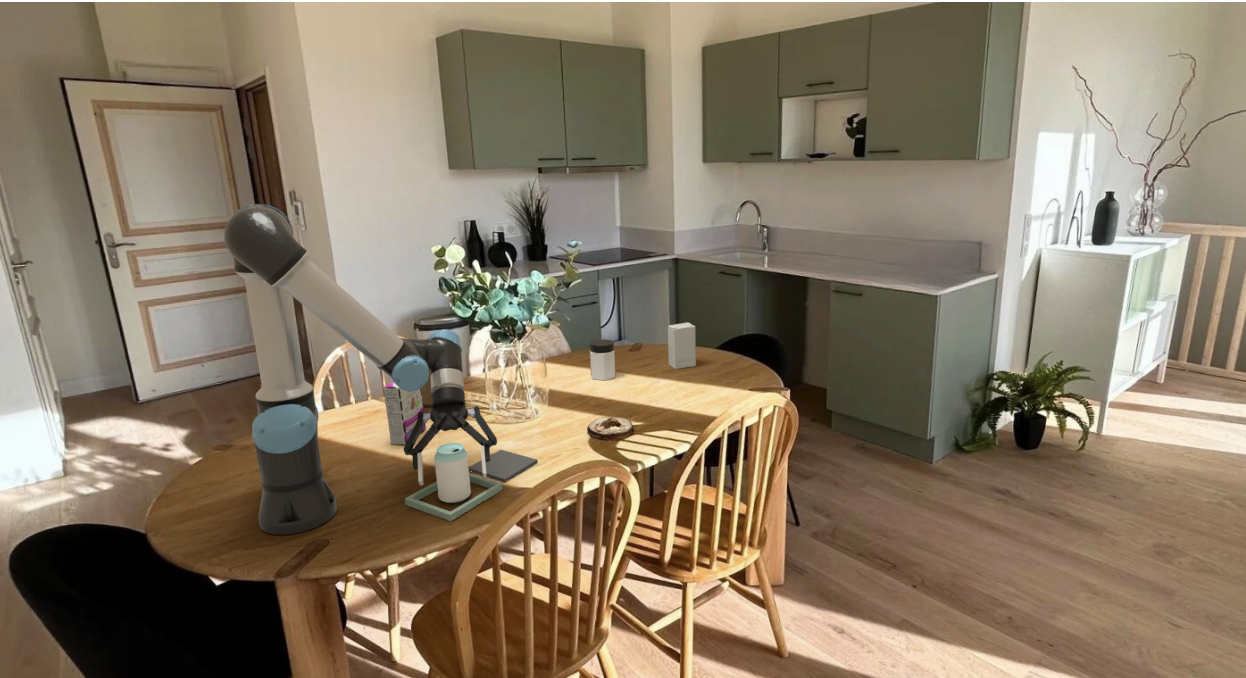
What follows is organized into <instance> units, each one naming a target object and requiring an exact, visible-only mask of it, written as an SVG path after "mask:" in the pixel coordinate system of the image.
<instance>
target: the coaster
mask: <svg viewBox="0 0 1246 678" xmlns="http://www.w3.org/2000/svg"><path fill="white" fill-rule="evenodd" d="M537 462H538V459H537V458H534V457H529V456H526V455H522V454H518V453H515V452H512V451H511V452H510V451H507V450H504V449H499V450H497V451H495V452H494V453H492V454H490V461H489V462H485V463H486V475H487V477H486V478H490V479H493V480H496V481H500V482H502V483H506V482H508V481H509V480H511V479H513V478H514V477H516V476H517V475H519V474H521V473H523V472H524V471H526V470H528V469H529V467H530V468H531V467H533V466H534V464H535V465H536V464H537ZM538 463H539V462H538ZM468 467H469V472H470V471H472V472H471V473H473V472H474V473H473V474H476V473H477V474H476V475H479V474H480V476H483V470H482V459H481V460H479V461H476V463H473V464H472V465H470V466H468Z"/></svg>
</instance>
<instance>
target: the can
mask: <svg viewBox="0 0 1246 678" xmlns="http://www.w3.org/2000/svg"><path fill="white" fill-rule="evenodd" d="M464 447H465V446H464V445H463V444H462V443H459V442H450V443H449V442H448V443H443V444H440V445H439V446H438V447H437V449H436V452H435V454H434V457H433V458H434V459H433V460H434V468H435V477H436V482H437V488H438V490H437V496H438V500H440V501H442V502H444V503H447V504H458V503H461V502H463V501H465V500H466V499H468V498H469V497H470V495H471V493H472V491H471V482H470V478H469V474H470V471H469V467H470V466H469V460H468V452H467V450H466V449H465V448H464Z"/></svg>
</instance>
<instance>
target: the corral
mask: <svg viewBox="0 0 1246 678" xmlns="http://www.w3.org/2000/svg"><path fill="white" fill-rule="evenodd" d="M469 478H470V483H471V482H472V483H471V484H474V483H475V485H477V486H481V487H484V488H487V489H486V490H484V491H483V492H481V493H479V494H477V495H476V496H474V497H473V498H471V499H469V500H468V501H465V502H464V503H462V504H461V505H459V506H458V507H456V508H454V509H452V510H450V511H449V510H446V509H444V508H441V507H438V506H435V505H432V504H430V503H427V502H424V501H421V500H422V499H424V498H426V497H427V496H429V495H431V494H433V493H434V492H436V491H437V492H438V488H437V481H435V482H433V483H431V484H429V485H427V486H426V487H424V488H422V489H419V490H418V491H416V492H415V493H413V494H411V495H409V496H407V497H405V498H404V503H405V506H408V507H410V508H413V509H416V510H419V511H421V512H424V513H426V514H430V515H432V516H435V517H437V518H440V519H442V520H445V521H449V522H453V521H454V520H456V519H457V518H459V517H461V516H462V515H464V514H465V512H466V513H467V512H469V511H470V510H473V509H474V508H475V507H477V506H479V505H480V504H482V503H483V501H484V502H485V501H487V500H488V499H490V498H491V497H493V496H495V495H496V494H498V493H500V492H502V491H503V489H504V487H503V482H502V483H501V482H497V481H494V480H491V479H488V478H486V477H485V478H483V476H478V475H477V474H476V475H475V474H472V473H469ZM481 502H482V503H481ZM478 504H479V505H478ZM476 505H477V506H476Z"/></svg>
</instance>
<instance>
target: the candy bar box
mask: <svg viewBox="0 0 1246 678" xmlns="http://www.w3.org/2000/svg"><path fill="white" fill-rule="evenodd" d="M382 389H383V395H384V404H385V409H386V416H387V424H388V431H389V438H390V444H391V445H396V446H405V444H406V442H407V440H408V438H409V436H410V434H411V432H412V430H413V428H414V426H415V424H416V422H417V418H418V413H419V412H423V414H424V410H423V402H422V394H421V388H420V389H418V390H416V391H405V390H402V389H400V388H399V387H398V386H397V385H396V384H395V383H394V381H393V380H392V381H391V382H389V383H388V384H386V385H384V386H383V387H382ZM425 430H427V427H426V423H424V426H423V429H422V431H421V433H420V435H421V434H422V433H423V432H424V431H425Z"/></svg>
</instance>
